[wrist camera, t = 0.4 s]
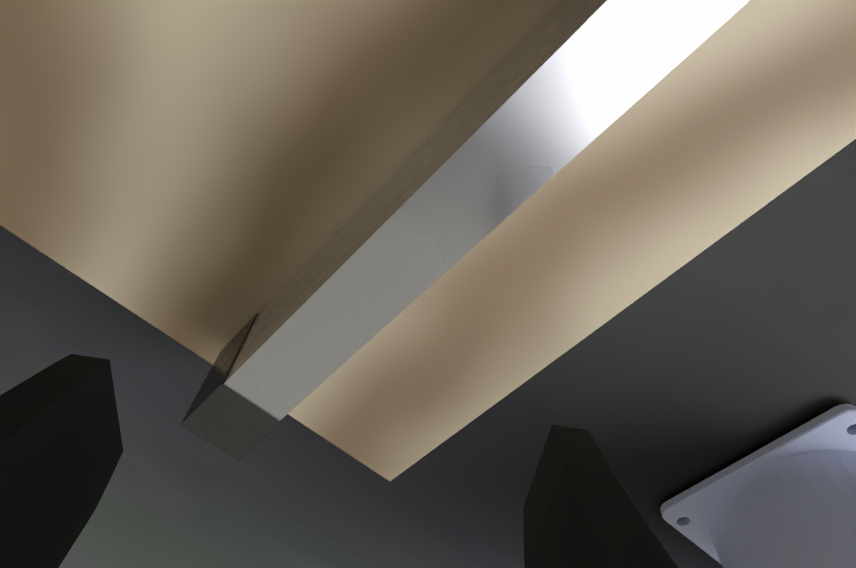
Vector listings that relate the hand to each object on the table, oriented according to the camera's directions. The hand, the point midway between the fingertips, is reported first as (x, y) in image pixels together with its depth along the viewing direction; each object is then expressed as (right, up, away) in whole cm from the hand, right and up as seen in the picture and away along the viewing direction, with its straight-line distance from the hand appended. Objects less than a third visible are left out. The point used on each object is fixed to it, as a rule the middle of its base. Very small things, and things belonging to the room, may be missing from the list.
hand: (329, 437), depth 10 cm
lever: (+2, +6, +6) cm, 8 cm away
